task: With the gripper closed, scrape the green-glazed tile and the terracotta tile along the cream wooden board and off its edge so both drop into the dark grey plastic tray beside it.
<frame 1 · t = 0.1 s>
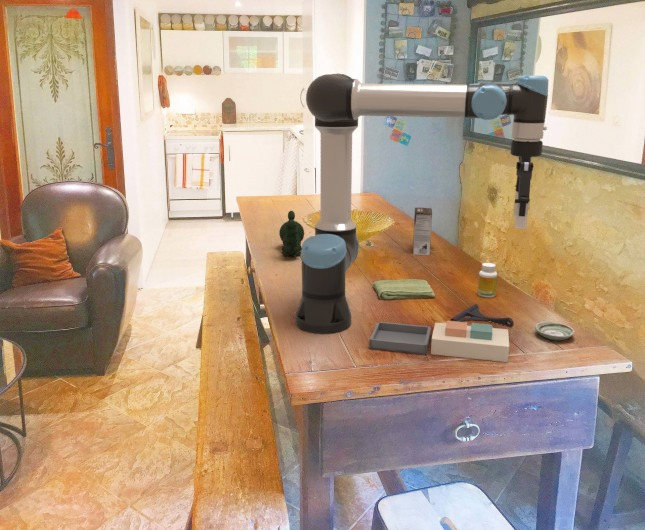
hand: (519, 222, 165), 28 cm above the table, tool pointing down, fingers open, 13 cm apart
coffee box: (421, 252, 239), on the table
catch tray: (400, 342, 160), on the table
supplement bottle: (486, 295, 194), on the table
cream board: (469, 349, 156), on the table
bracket: (486, 322, 175), on the table
toy figurine: (291, 253, 237), on the table
terracotta tile: (456, 332, 156), point 4 cm above the table, touching cream board
washcloth: (403, 294, 196), on the table
saucer: (553, 337, 164), on the table
green glazed tile: (481, 335, 155), point 4 cm above the table, touching cream board
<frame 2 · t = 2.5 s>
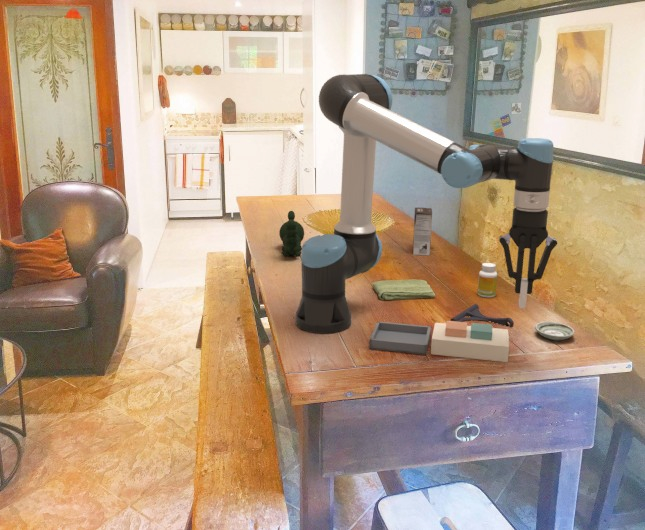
hand: (522, 306, 150), 12 cm above the table, tool pointing down, fingers closed
nothing on the table moved.
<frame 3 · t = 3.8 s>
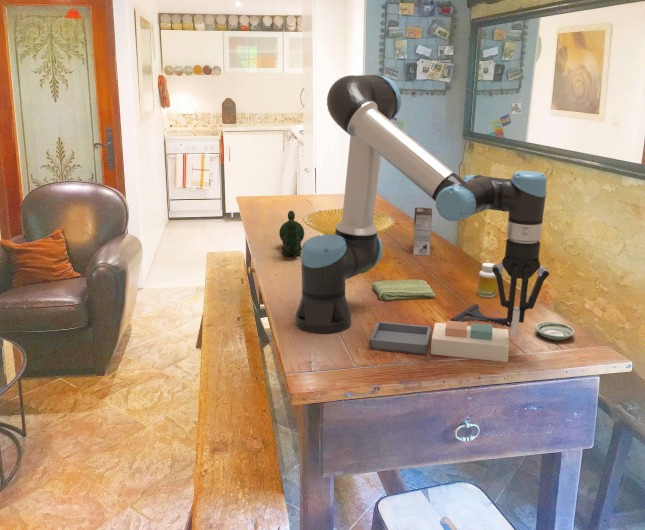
hand: (513, 333, 153), 5 cm above the table, tool pointing down, fingers closed
nothing on the table moved.
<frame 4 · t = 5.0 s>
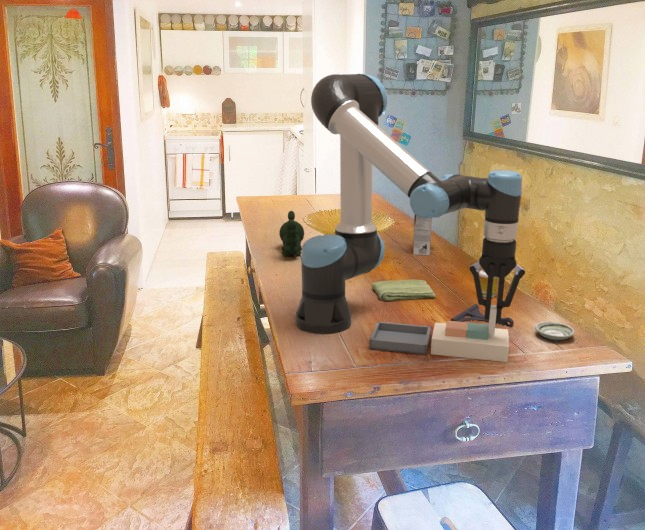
hand: (491, 332, 154), 5 cm above the table, tool pointing down, fingers closed
green glazed tile: (477, 334, 155), point 4 cm above the table, touching gripper
everything else where it was.
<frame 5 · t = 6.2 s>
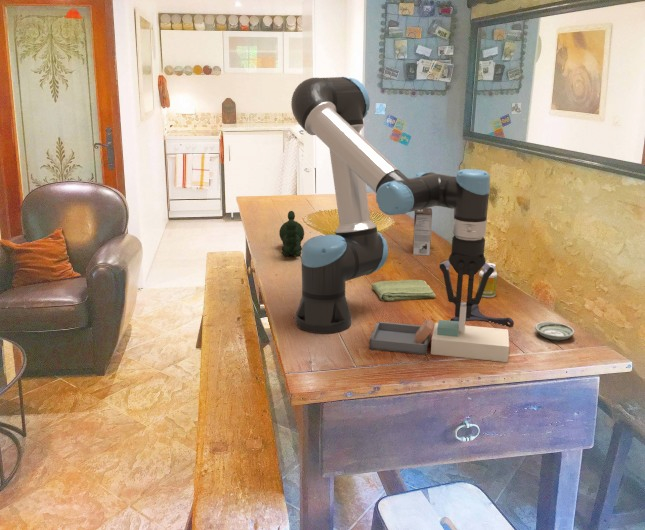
hand: (461, 329, 156), 5 cm above the table, tool pointing down, fingers closed
terracotta tile: (427, 333, 158), point 3 cm above the table, tilted 57°
green glazed tile: (448, 331, 157), point 4 cm above the table, touching cream board
everything else where it was.
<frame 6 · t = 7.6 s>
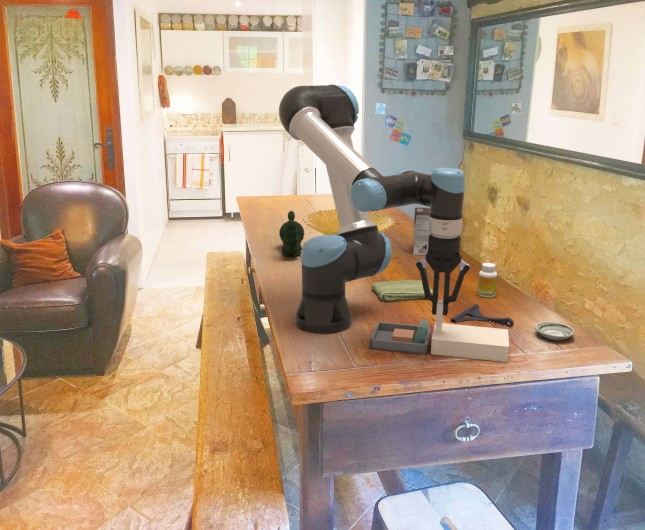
hand: (438, 326, 157), 5 cm above the table, tool pointing down, fingers closed
terracotta tile: (403, 333, 160), point 2 cm above the table, tilted 180°, touching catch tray, green glazed tile
green glazed tile: (424, 333, 158), point 3 cm above the table, tilted 70°, touching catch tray, terracotta tile
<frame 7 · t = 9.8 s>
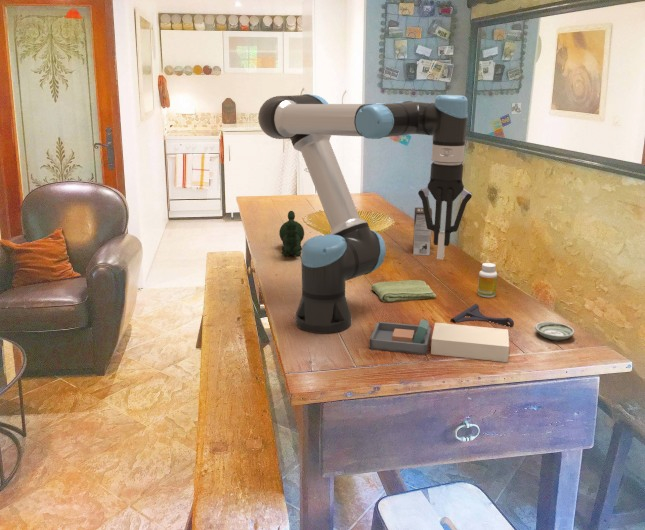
hand: (440, 257, 157), 21 cm above the table, tool pointing down, fingers closed
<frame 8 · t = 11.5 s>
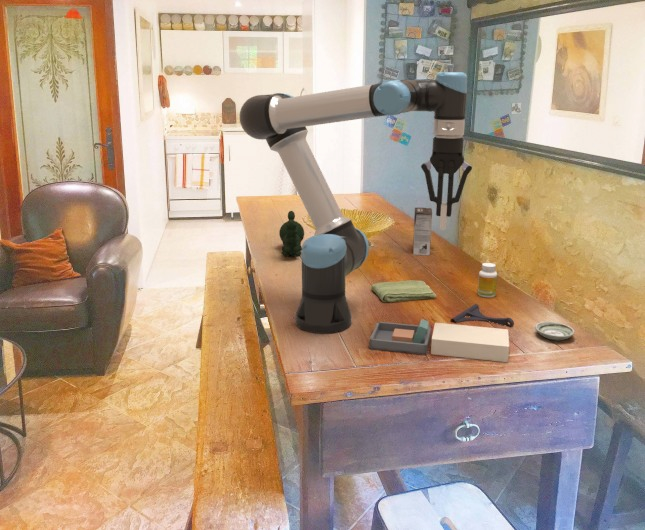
hand: (442, 228, 165), 26 cm above the table, tool pointing down, fingers closed
at the end: terracotta tile inside the target area on the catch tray (0.6 cm from its centre), point 2.5 cm above the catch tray's base; green glazed tile inside the target area on the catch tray (5.8 cm from its centre), point 2.9 cm above the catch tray's base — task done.
